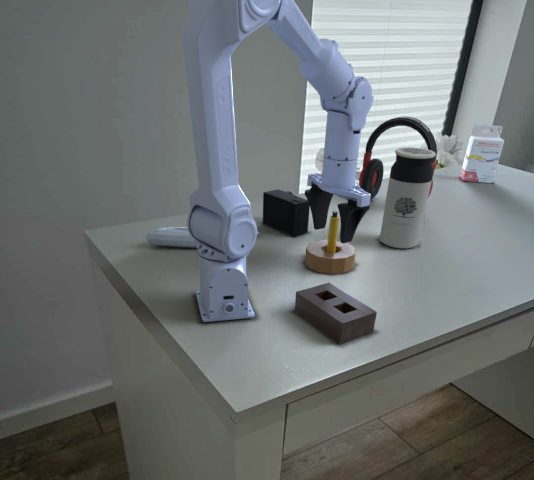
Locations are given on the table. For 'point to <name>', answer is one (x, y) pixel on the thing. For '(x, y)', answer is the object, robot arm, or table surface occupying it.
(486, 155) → the ink cartridge box
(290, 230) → the digital camera
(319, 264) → the tape roll
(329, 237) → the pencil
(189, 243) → the spaceship
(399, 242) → the travel mug
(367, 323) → the pencil stand
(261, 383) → the table surface
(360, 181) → the headphones
